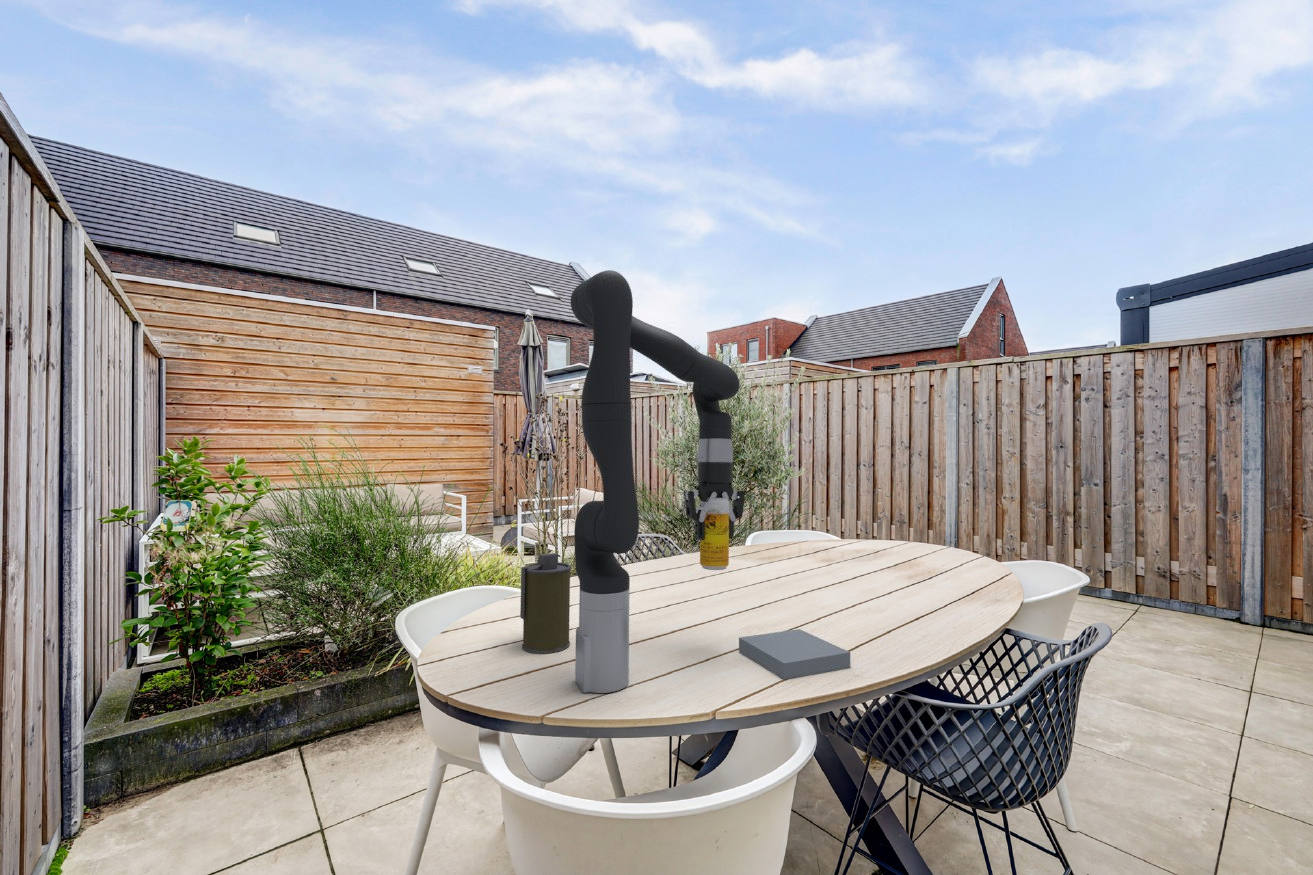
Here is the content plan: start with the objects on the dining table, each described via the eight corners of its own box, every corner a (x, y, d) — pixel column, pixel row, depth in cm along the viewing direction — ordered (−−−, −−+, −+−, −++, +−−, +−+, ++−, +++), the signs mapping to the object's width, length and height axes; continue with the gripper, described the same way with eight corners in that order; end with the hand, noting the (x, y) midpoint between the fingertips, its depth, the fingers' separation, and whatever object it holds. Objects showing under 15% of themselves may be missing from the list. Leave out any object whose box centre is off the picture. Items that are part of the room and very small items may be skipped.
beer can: (697, 569, 111) (698, 497, 112) (702, 564, 117) (702, 496, 117) (727, 571, 109) (727, 498, 110) (730, 566, 115) (730, 496, 116)
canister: (559, 635, 124) (560, 549, 125) (577, 648, 116) (579, 555, 117) (513, 643, 119) (515, 553, 120) (529, 657, 110) (531, 560, 111)
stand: (784, 679, 100) (784, 663, 100) (738, 651, 114) (738, 637, 115) (850, 667, 106) (850, 652, 106) (799, 642, 121) (799, 628, 121)
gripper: (693, 459, 108) (692, 543, 107) (753, 461, 113) (753, 540, 113) (677, 460, 115) (676, 538, 114) (734, 461, 120) (734, 535, 119)
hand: (714, 538), depth 113 cm, fingers closed on beer can, 6 cm apart
